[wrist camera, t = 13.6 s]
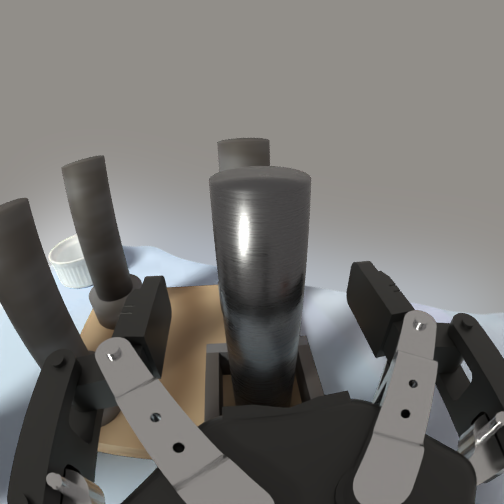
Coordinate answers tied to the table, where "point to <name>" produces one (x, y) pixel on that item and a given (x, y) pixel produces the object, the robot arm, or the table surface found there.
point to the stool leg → (261, 276)
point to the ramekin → (70, 264)
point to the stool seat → (114, 296)
